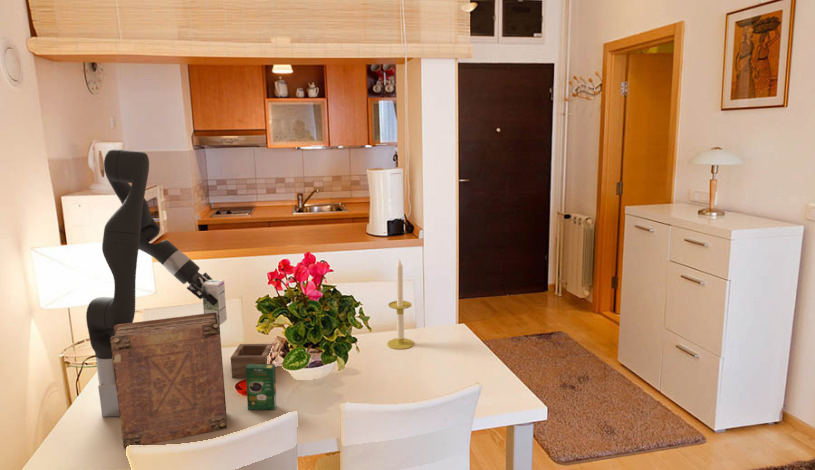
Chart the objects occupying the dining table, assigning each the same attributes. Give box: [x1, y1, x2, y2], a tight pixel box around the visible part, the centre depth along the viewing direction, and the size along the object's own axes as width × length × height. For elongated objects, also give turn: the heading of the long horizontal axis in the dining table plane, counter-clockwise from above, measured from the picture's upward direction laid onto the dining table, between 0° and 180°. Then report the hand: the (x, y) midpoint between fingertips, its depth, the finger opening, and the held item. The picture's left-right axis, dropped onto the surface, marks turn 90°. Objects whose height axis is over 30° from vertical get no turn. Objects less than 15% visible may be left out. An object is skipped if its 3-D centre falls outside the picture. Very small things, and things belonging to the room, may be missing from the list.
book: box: [110, 312, 228, 450], centre depth 144 cm, size 25×9×30 cm, turn 112°
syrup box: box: [202, 279, 228, 325], centre depth 187 cm, size 6×6×14 cm
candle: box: [386, 258, 415, 350], centre depth 200 cm, size 10×10×32 cm
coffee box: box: [245, 363, 277, 411], centre depth 157 cm, size 8×3×13 cm, turn 89°
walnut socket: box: [230, 343, 273, 379], centre depth 182 cm, size 11×11×7 cm
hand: (219, 300), depth 187 cm, fingers closed on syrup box, 6 cm apart
